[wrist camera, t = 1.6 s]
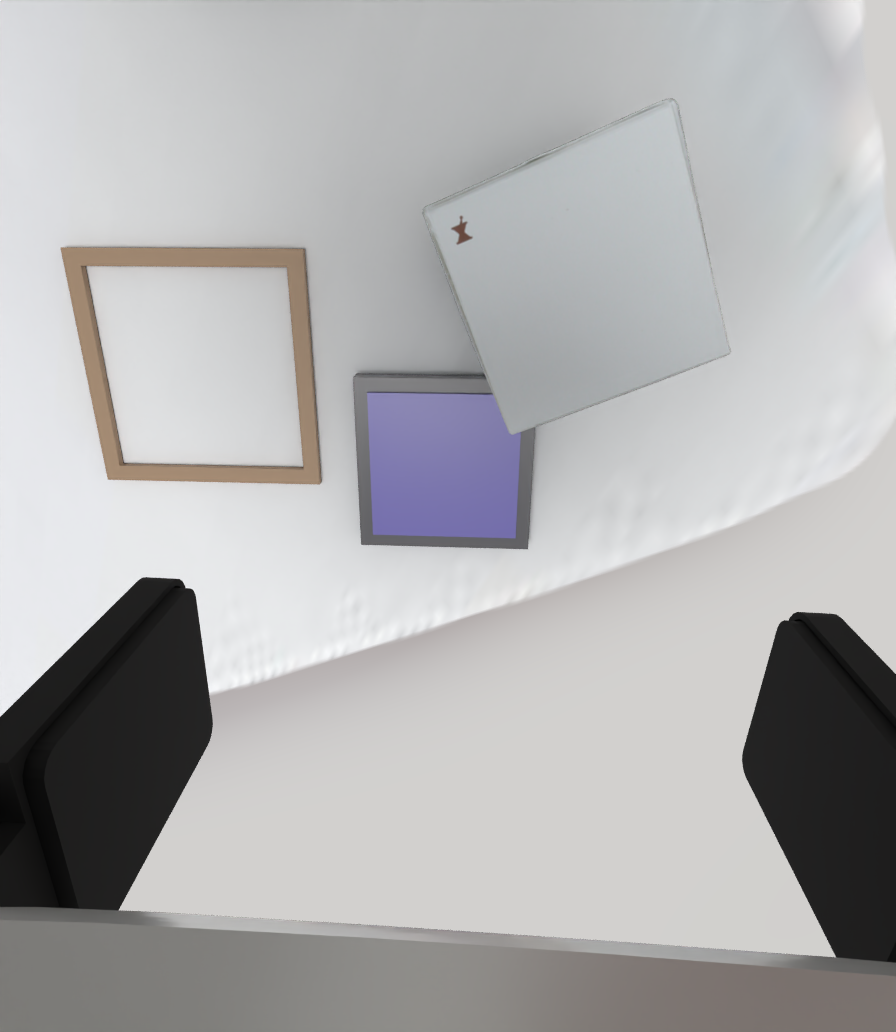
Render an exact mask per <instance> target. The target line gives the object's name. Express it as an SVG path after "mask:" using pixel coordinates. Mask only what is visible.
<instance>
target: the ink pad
mask: <svg viewBox="0 0 896 1032" xmlns="http://www.w3.org/2000/svg"><path fill="white" fill-rule="evenodd" d="M353 387H354V407H355V428H356V448H357V468H358V488H359V509H360V529H361V545H394V546H432V547H469V548H506V549H528V539H529V522H530V504H531V487H532V470H533V453H534V435H535V427H534V428H531V429H528V430H525V431H522V432H519V433H516V434H513V435H512V434H510V433H509V431H508V429H507V427H506V424H505V422H504V420H503V417H502V415H501V412H500V410H499V407H498V405H497V403H496V400H495V398H494V395H493V393H492V391H491V388H490V386H489V384H488V381H487V379H486V376H465V375H397V374H356V375H355V376H354V377H353Z"/></svg>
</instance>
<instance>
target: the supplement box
mask: <svg viewBox="0 0 896 1032" xmlns="http://www.w3.org/2000/svg"><path fill="white" fill-rule="evenodd" d="M423 215H424V218H425V221H426V224H427V227H428V229H429V232H430V235H431V237H432V240H433V243H434V245H435V248H436V251H437V253H438V256H439V259H440V261H441V264H442V267H443V269H444V272H445V275H446V277H447V280H448V283H449V285H450V288H451V291H452V293H453V296H454V299H455V301H456V304H457V306H458V309H459V312H460V314H461V317H462V319H463V322H464V324H465V327H466V329H467V332H468V334H469V337H470V339H471V342H472V344H473V347H474V349H475V352H476V354H477V357H478V359H479V362H480V364H481V367H482V369H483V372H484V374H485V376H486V379H487V381H488V384H489V386H490V388H491V391H492V393H493V395H494V398H495V400H496V403H497V405H498V407H499V410H500V412H501V415H502V417H503V420H504V422H505V424H506V427H507V429H508V431H509V433H510V434H512V435H513V434H516V433H519V432H522V431H525V430H528V429H531V428H534V427H537V426H539V425H542V424H545V423H548V422H550V421H553V420H556V419H559V418H561V417H564V416H567V415H569V414H572V413H575V412H577V411H580V410H583V409H585V408H588V407H591V406H594V405H596V404H599V403H602V402H605V401H607V400H610V399H613V398H615V397H618V396H621V395H623V394H626V393H629V392H631V391H634V390H637V389H639V388H642V387H645V386H648V385H650V384H653V383H656V382H658V381H661V380H664V379H666V378H669V377H671V376H674V375H677V374H679V373H682V372H685V371H687V370H690V369H693V368H695V367H698V366H700V365H703V364H705V363H708V362H711V361H713V360H716V359H718V358H721V357H724V356H727V355H728V354H730V352H731V349H730V346H729V343H728V338H727V334H726V330H725V325H724V321H723V317H722V313H721V308H720V304H719V300H718V296H717V291H716V287H715V283H714V278H713V273H712V268H711V263H710V258H709V253H708V249H707V244H706V239H705V234H704V229H703V224H702V220H701V215H700V210H699V205H698V200H697V195H696V190H695V186H694V181H693V176H692V171H691V166H690V161H689V156H688V151H687V147H686V142H685V137H684V132H683V127H682V122H681V117H680V112H679V107H678V104H677V101H676V100H675V99H665V100H662V101H660V102H657V103H655V104H653V105H651V106H648V107H646V108H644V109H642V110H640V111H637V112H635V113H633V114H631V115H629V116H626V117H624V118H622V119H620V120H618V121H615V122H613V123H611V124H609V125H606V126H604V127H602V128H600V129H598V130H595V131H593V132H591V133H589V134H587V135H584V136H582V137H580V138H578V139H575V140H573V141H571V142H569V143H566V144H564V145H562V146H560V147H557V148H555V149H553V150H550V151H548V152H546V153H543V154H541V155H538V156H536V157H534V158H531V159H529V160H527V161H526V162H524V163H522V164H520V165H518V166H516V167H514V168H511V169H509V170H507V171H505V172H503V173H500V174H498V175H496V176H494V177H491V178H489V179H487V180H485V181H483V182H480V183H478V184H476V185H473V186H471V187H469V188H467V189H464V190H462V191H460V192H458V193H455V194H453V195H451V196H449V197H446V198H444V199H442V200H440V201H437V202H435V203H433V204H430V205H428V206H426V207H425V208H424V209H423Z"/></svg>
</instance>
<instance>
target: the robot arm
mask: <svg viewBox="0 0 896 1032" xmlns="http://www.w3.org/2000/svg"><path fill="white" fill-rule="evenodd" d="M212 725H213V722H212V713H211V706H210V698H209V690H208V683H207V676H206V668H205V661H204V654H203V646H202V639H201V632H200V624H199V617H198V610H197V602H196V596H195V593H194V591H193V590H192V589H188V588H185V585H184V583H183V582H182V581H181V580H180V579H167V578H149V577H145V578H141V579H140V580H138V581H137V582H136V583H135V584H134V585H133V586H132V587H131V588H130V589H129V590H128V591H127V592H126V593H125V594H124V595H123V596H122V597H121V598H120V599H119V600H118V601H117V602H116V603H115V604H114V605H113V606H112V607H111V608H110V609H109V610H108V611H107V612H106V613H105V614H104V615H103V616H102V617H101V618H100V619H99V620H98V621H97V622H96V623H95V624H94V625H93V626H92V627H91V628H90V629H89V630H88V631H87V632H86V633H85V634H84V635H83V636H82V637H81V638H80V639H79V640H78V641H77V642H76V643H75V644H74V645H73V646H72V647H71V648H70V649H69V650H68V651H67V652H66V653H65V654H64V655H63V656H62V657H60V658H59V659H58V660H57V661H56V662H55V663H54V664H53V665H52V666H51V667H50V668H49V669H48V670H47V671H46V672H45V673H44V674H43V675H42V676H41V677H40V678H39V679H38V680H37V681H36V682H35V683H34V684H33V685H32V686H31V687H30V688H29V689H28V690H27V691H26V692H25V693H24V694H23V695H22V696H21V697H20V698H19V699H18V700H17V701H16V702H15V703H14V704H13V705H12V706H11V707H10V708H9V709H8V710H7V711H6V712H5V713H4V714H3V715H2V716H1V717H0V1032H896V674H895V673H894V672H893V671H892V670H891V669H890V668H889V667H888V666H887V665H886V664H885V663H884V662H883V661H882V660H881V659H880V657H878V655H876V653H875V652H874V651H873V650H872V649H871V648H870V647H869V646H868V645H867V644H866V643H865V642H864V641H863V640H862V639H861V638H860V637H859V636H858V635H857V634H856V633H855V632H854V631H853V630H852V629H851V628H850V627H849V626H848V625H847V624H846V622H845V621H844V620H843V619H842V618H840V617H839V616H837V615H835V614H825V613H824V614H823V613H805V612H796V613H794V614H793V615H792V616H791V617H790V619H789V621H785V620H784V621H782V622H781V623H780V624H779V626H778V628H777V631H776V635H775V639H774V642H773V646H772V650H771V653H770V656H769V660H768V664H767V667H766V671H765V674H764V678H763V682H762V685H761V689H760V692H759V696H758V699H757V703H756V707H755V711H754V714H753V718H752V721H751V725H750V728H749V732H748V735H747V739H746V743H745V746H744V750H743V755H742V762H743V769H744V773H745V776H746V778H747V780H748V782H749V784H750V786H751V788H752V790H753V792H754V794H755V796H756V798H757V800H758V802H759V804H760V806H761V808H762V810H763V812H764V814H765V816H766V818H767V820H768V822H769V824H770V826H771V828H772V830H773V832H774V834H775V836H776V838H777V840H778V842H779V844H780V846H781V848H782V850H783V852H784V854H785V856H786V858H787V860H788V862H789V864H790V866H791V868H792V870H793V871H794V874H795V876H796V878H797V880H798V882H799V884H800V886H801V888H802V890H803V892H804V894H805V896H806V898H807V900H808V902H809V904H810V906H811V908H812V910H813V912H814V914H815V916H816V918H817V920H818V922H819V924H820V926H821V928H822V930H823V932H824V934H825V936H826V937H827V940H828V942H829V944H830V945H831V948H832V950H833V952H834V953H835V955H836V958H834V957H822V956H808V955H793V954H781V953H767V952H753V951H740V950H726V949H712V948H698V947H684V946H670V945H657V944H643V943H630V942H616V941H601V940H586V939H572V938H556V937H541V936H527V935H513V934H498V933H483V932H468V931H467V932H466V931H453V930H437V929H422V928H407V927H392V926H377V925H361V924H344V923H328V922H312V921H296V920H280V919H263V918H247V917H230V916H214V915H197V914H181V913H164V912H141V911H118V910H119V908H120V906H121V905H122V903H123V901H124V899H125V897H126V895H127V893H128V892H129V890H130V888H131V886H132V884H133V882H134V881H135V879H136V877H137V875H138V873H139V871H140V869H141V868H142V866H143V864H144V862H145V860H146V858H147V856H148V855H149V853H150V851H151V849H152V847H153V845H154V843H155V841H156V840H157V838H158V836H159V834H160V832H161V831H162V828H163V827H164V825H165V823H166V821H167V820H168V818H169V815H170V814H171V812H172V810H173V808H174V807H175V805H176V803H177V801H178V799H179V797H180V795H181V794H182V792H183V790H184V788H185V786H186V784H187V783H188V781H189V779H190V777H191V775H192V773H193V771H194V770H195V768H196V766H197V764H198V762H199V760H200V759H201V756H202V755H203V753H204V751H205V749H206V747H207V746H208V743H209V741H210V738H211V733H212Z"/></svg>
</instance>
